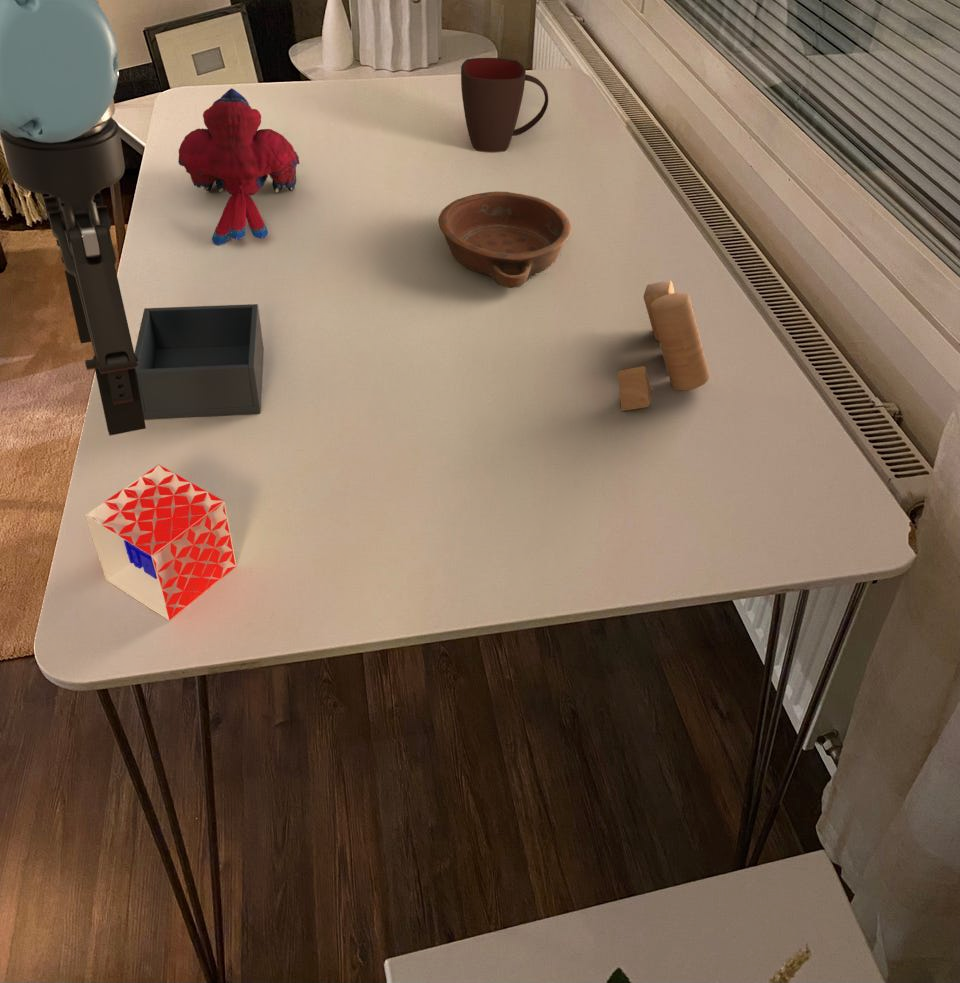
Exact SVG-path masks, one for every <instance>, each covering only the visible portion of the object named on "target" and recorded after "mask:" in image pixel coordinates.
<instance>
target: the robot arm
mask: <svg viewBox="0 0 960 983" xmlns="http://www.w3.org/2000/svg"><path fill="white" fill-rule="evenodd" d="M118 55H119V50H118V45H117V41H116V36H115V33H114V30H113V28H112V25H111V23H110V21H109V18H108V17H107V15H106V13H105V11H104V10H103V9H102V7H101V6H100V3H99V0H0V139H1V143H2V148H3V151H4V156H5V160H6V163H7V168H8V172H9V175H10V178H11V179H12V181H13V182H14V183H15V184H16V185H18V186H19V187H21V188H22V189H24V190H26V191H28V192H31V193H35V194H39V195H49V196H43V197H42V201H43V205H44V209H45V213H46V218H47V219H48V220H49V224H50V228H51V231H52V236H53V237H54V238H55V239H56V240H55V242H56V245H57V247H59V250H60V253H61V257H60V259H61V262H62V264H63V266H64V268H65V270H64V275H65V279H66V284H67V288H68V294H69V298H70V302H71V306H72V311H73V316H74V320H75V324H76V329H77V334H78V339H79V342H80V344H87V343H91V347H92V350H93V354H94V355H93V356H92V357H93V358H91V359H85V360H84V364H85V368H86V371H89V370H94V373H95V376H96V382H97V386H98V391H99V395H100V400H101V405H102V409H103V410H102V411H103V414H104V419H105V424H106V428H107V432H108V435H109V436H110V437H111V436H115V435H119V434H126V433H130V432H134V431H140V430H145V429H147V426H146V422H145V420H144V415H143V409H142V404H141V398H140V392H139V387H138V381H137V376H136V370H135V368H137V366H138V364H137V363H138V359H137V356H135V354H134V353H135V349H134V345H133V340H132V336H131V333H130V327H129V324H128V319H127V315H126V310H125V305H124V300H123V295H122V290H121V287H120V283H119V279H118V278H119V277H118V274H117V269H116V265H117V257H116V252H115V249H114V248H115V247H114V244H113V240H112V235H111V230H112V220H111V217H110V212H109V209H108V206H107V205H104V199H103V195H102V192H101V191H102V190H104V189H107V188H110V187H113V186H114V185H115V184H117V183H118V182H119V181H120V180H121V179H122V177H123V176H124V174H125V170H126V163H125V158H124V152H123V146H122V139H121V138H122V137H121V132H120V126H119V124H118V122H117V121H116V120H115V119H114V118H113V116H114V115H115V111H116V107H115V100H114V96H115V93H116V89H117V85H118V79H119V78H120V72H119V71H120V70H119V65H120V63H119V58H118Z"/></svg>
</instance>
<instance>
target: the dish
mask: <svg viewBox="0 0 960 983" xmlns="http://www.w3.org/2000/svg"><path fill="white" fill-rule="evenodd" d="M437 219H438V220H437V223H438V228H439V229H440V231H441V233H442V234H443V236H444V239H445V241H446V242H445V243H446V244H447V248H448V249H449V251H450V253H451V255H452V257H453V258H454V259H455V260H456V261H457V262H458V263H460V264H461V265H463V266H464V267H466V268H468V269H470V270H473V271H475V272H477V273H480V274H484V275H488V276H491V277H492V279H493V280H494V281H495V283H497V284H498V285H500V286H502V287H504V288H509V289H513V288H514V289H515V288H519V287H521V286H523V285H524V284H526V282H527V280H528V277H529V276H531V275H535V274H538V273H541V272H543V271H545V270H546V269H548V268H549V267H550V266H551V265H552V264H553V263H554V262H555V261H556V260H557V259H558V256H559V255H560V252H561V251H562V248H563V246H564V244H565V243H566V242H567V241H568V239H569V238H570V236H571V232H572V224H571V221H570V219H569V217H568V216H567V215H566V213H564V211H563V210H562V209H561V208H559V207H558V206H556V205H554V204H553V203H551V202H549V201H547V200H546V199H542V198H540V197H537V196H533V195H529V194H523V193H516V192H510V191H488V192H481V193H474V194H471V195H467V196H463V197H461V198H457V199H455V200H453V201H452V202H450V203H449V204H447V205H446V206H445V207H444V208H443V209H442V210H441V212H440V214H439V216H438V218H437Z"/></svg>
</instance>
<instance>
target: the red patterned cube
mask: <svg viewBox="0 0 960 983" xmlns="http://www.w3.org/2000/svg"><path fill="white" fill-rule="evenodd" d="M84 516H85V520H86V523H87V526H88V529H89V532H90V535H91V539H92V541H93V544H94V547H95V548H94V549H95V551H96V554H97V557H98V559H99V564H100V566H101V569H102V572H103V576H104V578H105V581H107V582H108V583H110V584H111V585H112V586H115V587H116V588H118V589H119V590H120V591H122V592H124V593H125V594H127V595H128V596H129V597H132V599H134V600H136V601H138V602H139V603H141V604H143V605H144V606H145V607H148V608H149V609H150V610H152V611H153V612H154V613H157V614H158V615H159V616H161V617H163V618H164V619H165V620H167V621H169V622H170V621H171V620H173V619H174V618H175V617H176V616H178V615H179V614H180V613H181V612H183V610H185V609H186V608H187V607H189V606H190V605H191V604H192V603H193V602H195V601H196V600H197V599H198V598H200V597H201V596H202V595H203V594H205V593H206V592H207V591H208V590H209V589H211V587H213V586H214V585H215V584H217V583H218V582H219V581H220V580H222V579H223V578H224V577H225V576H227V575H228V574H229V573H230V572H231V571H233V570H234V569H235V568H237V561H236V555H235V550H234V545H233V539H232V534H231V528H230V522H229V519H228V513H227V508H226V503H225V500H223V499H222V498H220V497H218V496H216V495H214V494H213V493H211V492H210V491H207V490H205V489H204V488H202V487H200V486H198V485H197V484H195V483H193V482H191V481H189V480H188V479H186V478H184V477H183V476H180V475H178V474H177V473H175V472H173V471H172V470H170V469H167V467H164V466H163V465H160V464H157V465H155V466H154V467H153V468H151V469H149V470H148V471H147V472H145V473H144V474H143V475H141V476H140V477H138V478H137V479H135V480H134V481H132V482H131V483H129V484H128V485H126V486H125V487H123V488H122V489H121V490H119V491H118V492H116V493H114V494H113V495H112V496H110V497H109V498H107V499H106V500H104V501H103V502H101V503H100V504H98V505H97V506H96V507H94V508H93V509H91V510H90V511H88V512H87V513H86V514H84Z"/></svg>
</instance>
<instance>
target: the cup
mask: <svg viewBox="0 0 960 983" xmlns="http://www.w3.org/2000/svg"><path fill="white" fill-rule="evenodd" d="M526 73H527V72H526V68H525V67H524V65H523V64H522V63H521V62H520V61H518V60H516V59H509V58H501V57H475V58H474V57H473V58H468V59H466V60H464V62H462V64H461V66H460V83H461V84H460V86H461V87H460V88H461V97H462V98H461V99H462V104H463V113H464V118H465V125H466V129H467V133H468V138H469V142H470V145H471V146H472V148H473V149H474V150H475V152H476V151H477V152H481V153H482V152H483V153H503V152H506V151H507V150H508V148H509V146H510V143H511V140H512V138H513V137H517V136H520V135H522V134H524V133H526V132H528V131H529V130H531V129H532V128H533V127H535V125H537V124H538V123H539V122H540V120H542V118H543V116H544V115H545V113H546V111H547V109H548V106H549V93H548V89H547V88H546V86H545V84H544V83H543V82H542V81H541V80H540V79H538V78H537V77H535V76H533V75H530V74H526ZM526 82H530V83H533V84H535V85H537V86H538V87H539V88H540V89H541V90H542V92H543V95H544V102H543V105H542V107H541V109H540V111H539V112H538V113H537V114H536V115H535V116H534V117H533V118H532V119H530V121H528V122H527V123H525V124H524V125H522V126H521V127H518V128H516V126H517V122H518V118H519V114H520V110H521V106H522V102H523V97H524V91H525V83H526Z"/></svg>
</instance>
